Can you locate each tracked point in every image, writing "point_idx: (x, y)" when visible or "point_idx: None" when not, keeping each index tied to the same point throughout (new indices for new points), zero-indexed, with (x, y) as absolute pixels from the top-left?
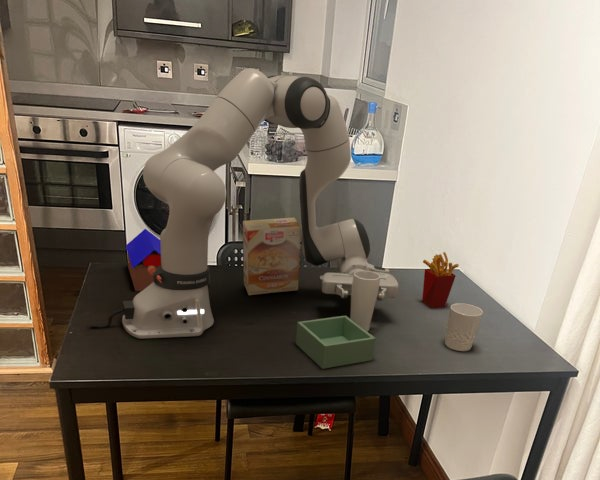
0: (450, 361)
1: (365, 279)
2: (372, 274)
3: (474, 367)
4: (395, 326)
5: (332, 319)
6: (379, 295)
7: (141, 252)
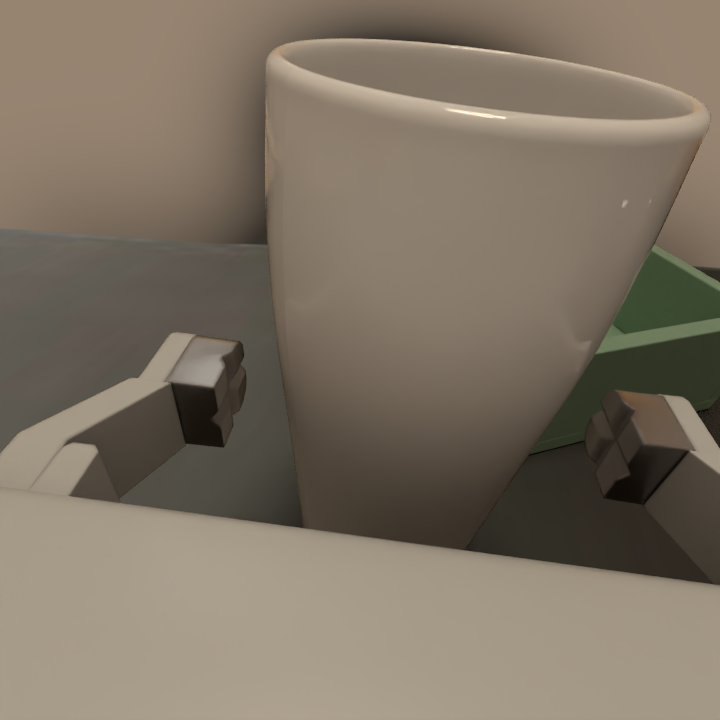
0: (67, 276)
1: (501, 56)
2: (342, 138)
3: (12, 248)
4: None
5: (607, 339)
6: (235, 342)
7: None
